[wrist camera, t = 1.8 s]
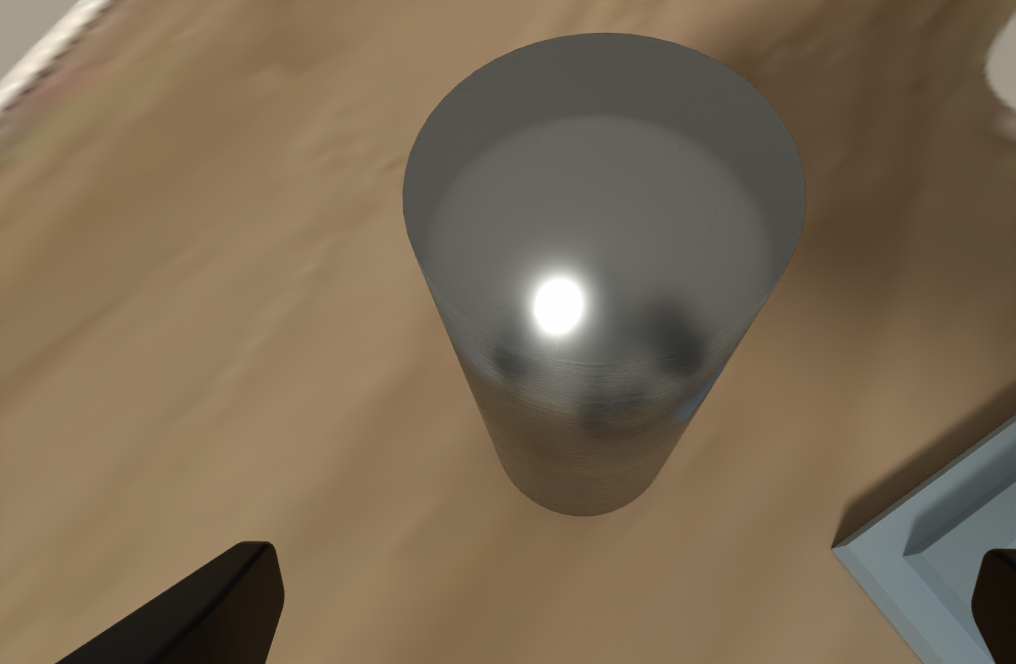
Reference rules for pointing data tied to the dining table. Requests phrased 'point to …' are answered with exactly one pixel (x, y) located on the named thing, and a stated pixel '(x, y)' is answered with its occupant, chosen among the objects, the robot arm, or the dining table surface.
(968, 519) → the plate
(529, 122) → the grey shiny round cylinder
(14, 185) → the dining table surface
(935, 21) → the dining table surface
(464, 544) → the dining table surface
